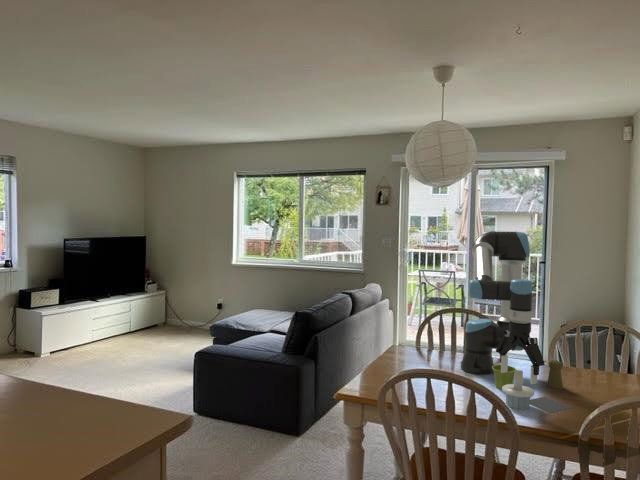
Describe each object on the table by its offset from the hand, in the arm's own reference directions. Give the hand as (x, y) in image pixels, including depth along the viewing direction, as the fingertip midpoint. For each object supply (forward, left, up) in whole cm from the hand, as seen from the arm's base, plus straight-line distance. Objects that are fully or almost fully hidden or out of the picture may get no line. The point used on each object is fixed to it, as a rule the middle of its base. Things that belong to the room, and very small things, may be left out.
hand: (518, 377), depth 177 cm
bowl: (0, 0, -11) cm, 11 cm away
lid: (0, 0, -5) cm, 5 cm away
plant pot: (-16, +10, -11) cm, 22 cm away
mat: (+4, +11, -11) cm, 16 cm away
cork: (-9, +32, -11) cm, 35 cm away
